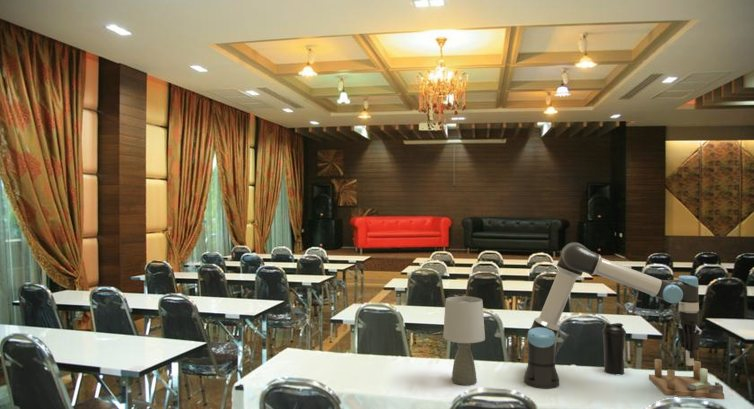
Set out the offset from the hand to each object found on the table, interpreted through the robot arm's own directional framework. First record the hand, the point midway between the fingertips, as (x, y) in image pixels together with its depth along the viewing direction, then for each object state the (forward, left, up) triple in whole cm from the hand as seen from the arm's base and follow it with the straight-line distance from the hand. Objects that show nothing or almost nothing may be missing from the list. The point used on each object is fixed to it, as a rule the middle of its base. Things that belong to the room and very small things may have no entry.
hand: (689, 365), depth 233 cm
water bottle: (-28, +15, -9) cm, 33 cm away
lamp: (-98, -12, -9) cm, 99 cm away
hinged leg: (0, -9, -7) cm, 12 cm away
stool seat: (-4, -4, -9) cm, 10 cm away
